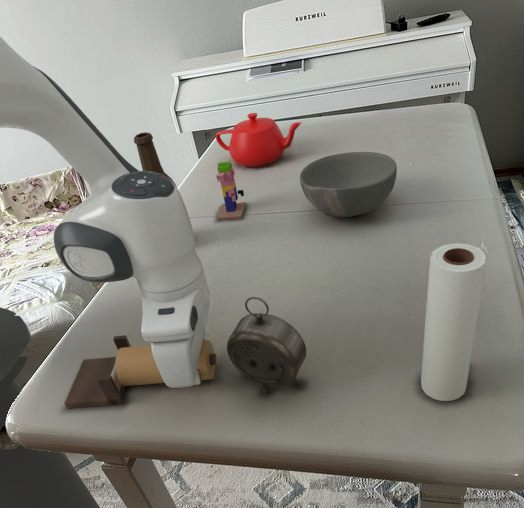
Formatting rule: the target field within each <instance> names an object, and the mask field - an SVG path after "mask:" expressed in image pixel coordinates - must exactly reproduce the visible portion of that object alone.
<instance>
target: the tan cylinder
mask: <svg viewBox="0 0 524 508" xmlns="http://www.w3.org/2000/svg"><path fill="white" fill-rule="evenodd" d="M115 357H116V360H115V365H114V368H113V370H112V373H111V376H112V378H113V380H114V382H116V379H117V377H118V380H119V382H120V383H121V385H123V386H125V387H129V386H131V387H132V386H141V385H154V384H155V385H156V384H165V382H164V380H163V378H162V376H161V374H160V372H159V369H158V367H157V365H156V362H155V360H154V357H153V354H152V349H151V344H148V345H138V346H137V345H136V346H131V347H124V348H120V349H119V350H118V349H117V352H116V355H115ZM217 362H218V356H217V354H216V353H215V352H214V346H213V343H212V342H211V340H209V339H206V340H203V341H202V346H201V351H200V356H199V361H198V366H197V369H199V370H200V373H201V381H204V380H213V379H214V377H215V373H216V366H217Z"/></svg>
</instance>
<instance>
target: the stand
mask: <svg viewBox="0 0 524 508" xmlns="http://www.w3.org/2000/svg"><path fill="white" fill-rule="evenodd" d="M112 339H113V342H114V344H115V346H116V349H117V351H118V350H119V349H120V348H124V347H132V346H131V344H130V342H129V338H128V336H127V335H126V334H123V335H114V336H113V338H112ZM115 360H116V356H109V357H100V358H99V357H98V358H87V359H82V362H81V364H80V367H79V369H78V371H77V374H76V376H75V377H74V381H73V383H72V385H71V388H70V390H69V391H68V394H67V396H66V399H65V401H64V406H65V408H66V409H67V410H68V409H69V410H71V409H80V408H81V409H82V408H94V407H95V408H97V407H108V406H109V407H110V406H121V405H123V403H124V399H123V395H124V391H125V388H126V386H123V385H121V383H120V382H119V380H118V377H117V379H116V382H114V380H113V378H112V376H111V373H112V370H113V368H114V365H115Z"/></svg>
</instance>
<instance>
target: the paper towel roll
mask: <svg viewBox="0 0 524 508" xmlns="http://www.w3.org/2000/svg"><path fill="white" fill-rule="evenodd" d="M484 240H485V238H484V237H482V239H481V245H480V247H479V246H475V245H472V244H469V243H460V242H458V243H447V244H444V245H441V246H438V247H437V248H435V249H434V250H432V252H431V254H430V256H429V269H428V282H427V296H426V306H425V307H426V309H425V321H424V334H423V336H424V337H423V348H422V362H421V374H420V375H421V376H420V383H421V390H422V391H423V392H424V394H425V395H426V396H428V397H430V398H431V399H433V400H436V401H440V402H452V401H455V400H459V399H460V398H461V397H462V396H463V395H464V394H465V393H466V390H467V385H468V380H469V372H470V367H471V365H470V364H471V360H472V353H473V348H474V341H475V334H476V329H477V322H478V316H479V310H480V303H481V297H482V290H483V284H484V279H485V278H484V277H485V272H486V265H487V260H488V250H487V248H486V246H485V245H484V242H485V241H484Z"/></svg>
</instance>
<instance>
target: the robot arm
mask: <svg viewBox="0 0 524 508" xmlns="http://www.w3.org/2000/svg"><path fill="white" fill-rule="evenodd" d="M1 128H2V129H5V128H6V129H16V130H23V131H27V132H30V133H32V134H35V135H36V136H39V137H40V138H42V139H43V140H45V141H46V142H47V143H48V144H49V145H51V147H52V148H53V149H54V150H55V151H56V152H57V153H58V154H59V155H60V156H61V157H62V158H63V159H64V160H65V161H66V162H67V163H68V164H69V165H70V166H71V167H72V169H73V170H75V171H76V172H77V173H78V175H79V176H80V177H81V178H82V179H83V180H84V181H85V182H86V183H87V185H88V186H89V188H90V192H91V194H89V195H88V196H87V197H86V198H85V199H84V200H83V201H82V202H80V203H79V204H78V205H76V206H75V207H74V208H73V209H72V210H71V211H70V212H69V213H68V214H67V215H66V216H64V218H63V219H62V220H61V221H60V222H59V224H58V225H56V227H55V229H54V231H53V246H54V249H55V252H56V254H57V256H58V259H59V260H60V262H61V263H62V264H63V266H64V267H65V268H66V269H67V270H68V271H69V272H70V273H71V274H72V275H74V276H75V277H76V278H78V279H80V280H82V281H85V282H90V283H95V284H96V283H101V284H103V283H113V282H114V283H115V282H121V281H122V282H123V281H126V280H129V279H131V278H134V279H135V280H136V282H137V285H138V287H139V290H140V293H141V295H140V298H141V304H142V305H141V306H142V313H141V326H140V333H141V336H142V338H143V341H144V342H146V343H150V345H151V349H152V354H153V357H154V360H155V362H156V365H157V367H158V369H159V372H160V374H161V376H162V378H163V380H164V382H165V383H164V384H165V385H166V386H167V387H169V388H172V389H182V388H189V387H193V386H198V385H200V384H201V381H202V380H201V373H200V370H199V369H197V366H198V361H199V356H200V351H201V346H202V341H203V340H207V337H206V335H207V334H206V325H207V319H208V314H209V309H210V305H211V304H210V303H211V301H210V300H211V299H210V298H211V297H210V296H211V294H210V289H209V285H208V282H207V279H206V275H205V270H204V267H203V263H202V261H201V259H200V257H199V256H198V255H197V252H196V237H195V233H194V229H193V225H192V222H191V218H190V216H189V212H188V209H187V207H186V204H185V202H184V199H183V197H182V195H181V193H180V190H179V189H178V187H177V185H176V186H175V185H174V183H175V182H174V183H173V182H172V181H171V180H170V179H169V178H168V177H166V176H164V175H162V174H159V173H156V172H151V171H143V170H139V169H137V167H135V166H133V165H132V164H131V163H130V162H129V161H127V159H126V158H125V157H123V155H121V153H120V152H119V151H118V149H116V148H115V147H114V146H113V145H112V143H111V142H110V141H109V140H108V139H107V138H106V136H105V135H104V133H102V132H101V131H100V130H99V128H98V127H97V126H96V125H95V124H94V123H93V121H91V120H90V119H89V117H88V116H87V115H86V114H85V113H84V112H83V111H82V109H81V108H80V107H79V106H78V105H77V104H76V103H75V102H74V100H73V99H72V98H71V97H70V96H69V95H68V94H67V93H66V91H64V90H63V89H62V87H61V86H60V85H58V84H57V82H56V81H54V80H53V78H51V77H50V76H49V75H47V74H46V73H45V72H44V71H42V70H41V69H39V68H37V67H35V66H33V65H32V64H31V63H30V62H28V61H27V60H26V59H25V58H24V57H22V56H21V55H20V54H19V53H17V52H16V50H15V49H13V47H11V46H10V45H9V44H8V43H7V42H6V40H4V38H3V37H2V36H0V129H1Z"/></svg>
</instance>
